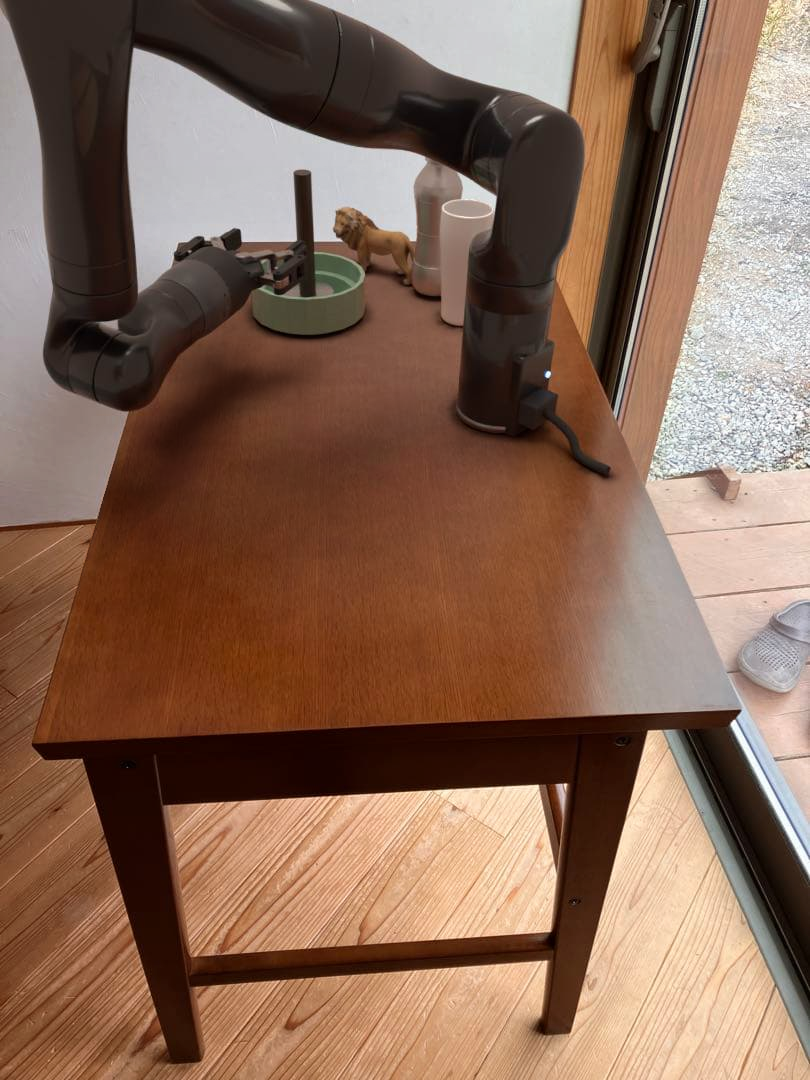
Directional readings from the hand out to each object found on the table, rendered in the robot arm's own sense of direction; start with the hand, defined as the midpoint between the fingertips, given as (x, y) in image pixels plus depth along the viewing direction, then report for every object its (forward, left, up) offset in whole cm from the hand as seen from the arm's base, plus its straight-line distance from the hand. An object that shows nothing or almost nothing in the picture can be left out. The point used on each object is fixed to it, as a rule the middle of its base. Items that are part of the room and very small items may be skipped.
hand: (270, 242), depth 106 cm
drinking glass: (-13, -22, -13) cm, 29 cm away
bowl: (+3, -9, -13) cm, 16 cm away
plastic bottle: (-5, -26, -13) cm, 29 cm away
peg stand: (+3, -9, -13) cm, 16 cm away
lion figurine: (+5, -25, -13) cm, 29 cm away
